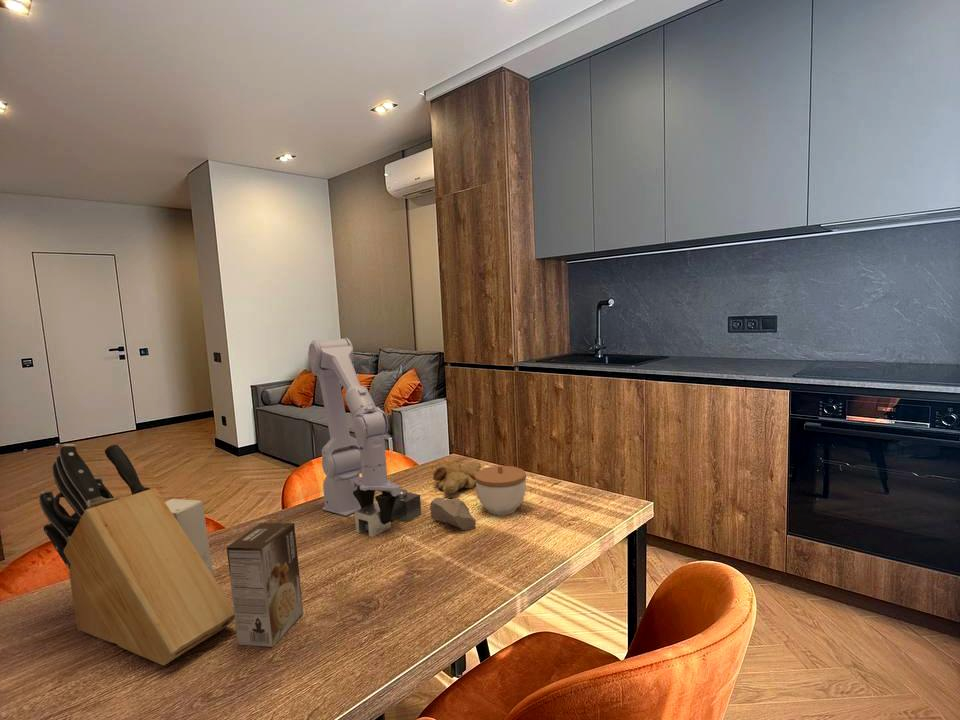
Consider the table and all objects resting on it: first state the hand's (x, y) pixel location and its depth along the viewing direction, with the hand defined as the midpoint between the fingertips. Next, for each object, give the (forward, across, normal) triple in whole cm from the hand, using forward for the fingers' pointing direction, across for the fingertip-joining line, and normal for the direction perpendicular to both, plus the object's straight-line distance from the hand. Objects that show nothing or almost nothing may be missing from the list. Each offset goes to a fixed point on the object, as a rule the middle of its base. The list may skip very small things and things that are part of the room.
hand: (377, 520), depth 120 cm
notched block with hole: (+2, 0, -1) cm, 2 cm away
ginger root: (+2, -1, +30) cm, 31 cm away
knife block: (+2, -8, -47) cm, 48 cm away
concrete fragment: (+2, +13, +11) cm, 17 cm away
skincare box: (+2, -16, -36) cm, 40 cm away
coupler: (+2, 0, +4) cm, 4 cm away
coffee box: (+2, +13, -36) cm, 39 cm away
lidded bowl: (+2, +20, +23) cm, 30 cm away
